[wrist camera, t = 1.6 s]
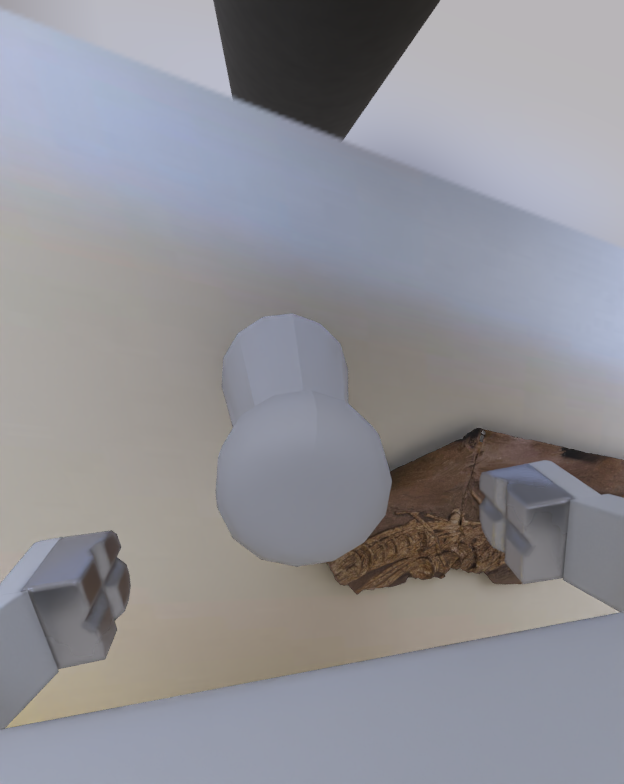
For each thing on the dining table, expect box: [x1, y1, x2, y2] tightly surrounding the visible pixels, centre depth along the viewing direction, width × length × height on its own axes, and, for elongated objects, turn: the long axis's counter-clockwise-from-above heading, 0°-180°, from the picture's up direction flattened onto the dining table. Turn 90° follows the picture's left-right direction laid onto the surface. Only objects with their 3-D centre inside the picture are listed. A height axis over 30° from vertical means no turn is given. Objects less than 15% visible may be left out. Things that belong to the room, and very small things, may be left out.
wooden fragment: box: [326, 428, 624, 594], centre depth 25 cm, size 26×11×1 cm, turn 89°
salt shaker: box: [216, 313, 392, 567], centre depth 15 cm, size 6×6×13 cm
